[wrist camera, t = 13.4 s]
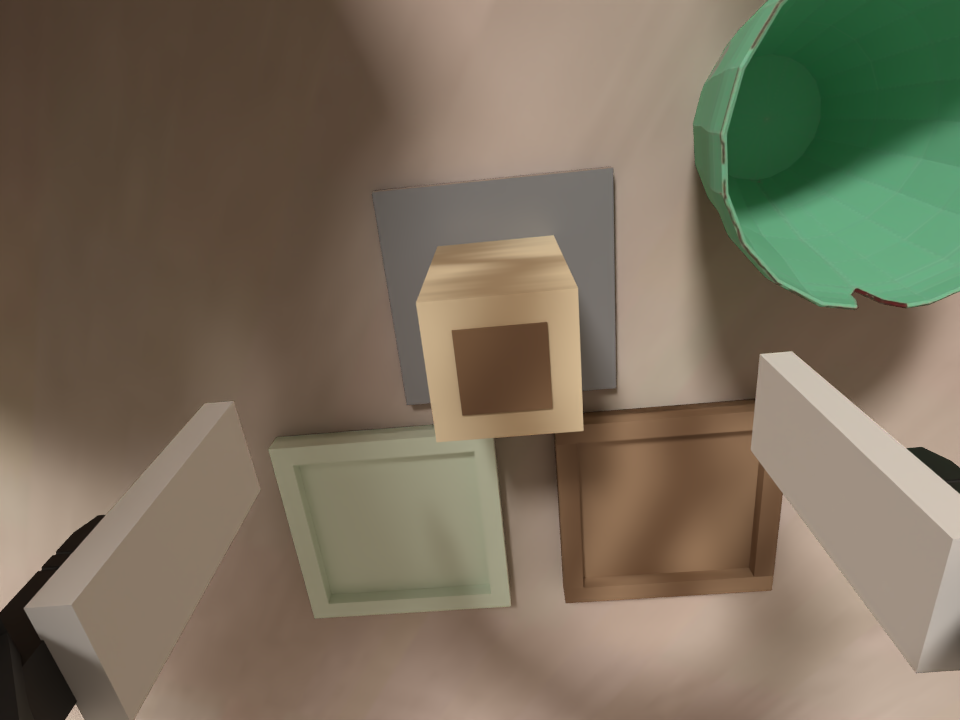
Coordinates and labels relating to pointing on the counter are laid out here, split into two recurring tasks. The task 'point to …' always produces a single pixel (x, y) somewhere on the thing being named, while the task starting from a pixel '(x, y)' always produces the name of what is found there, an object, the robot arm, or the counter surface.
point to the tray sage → (394, 521)
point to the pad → (502, 216)
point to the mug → (840, 148)
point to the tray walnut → (665, 504)
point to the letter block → (501, 340)
